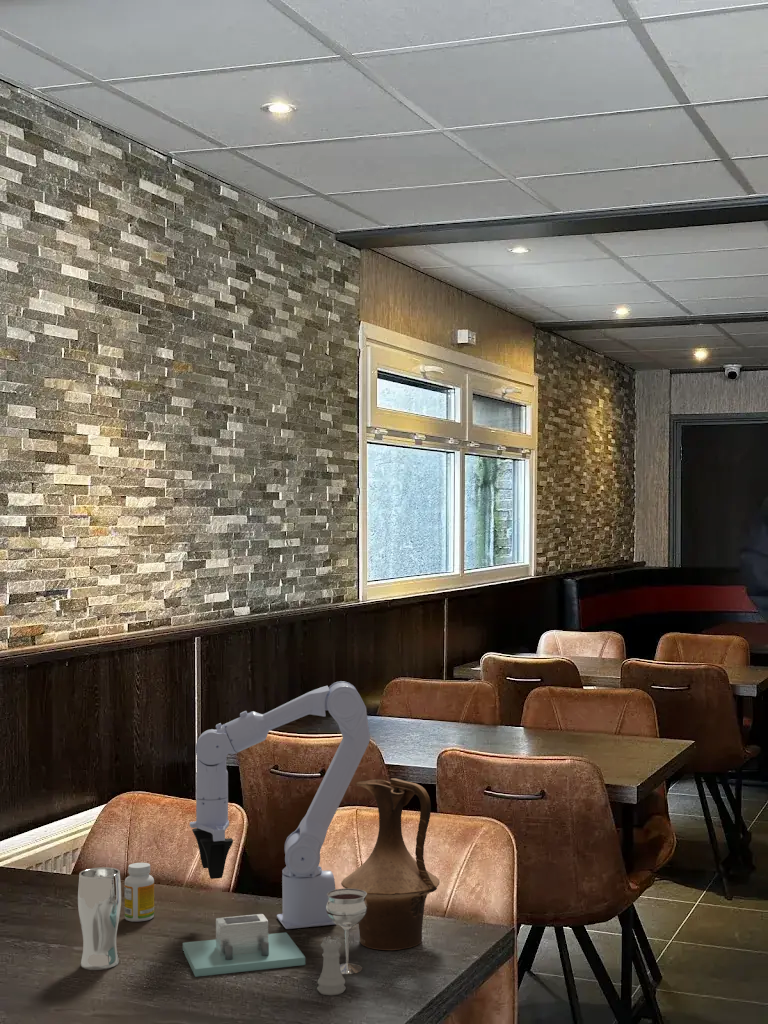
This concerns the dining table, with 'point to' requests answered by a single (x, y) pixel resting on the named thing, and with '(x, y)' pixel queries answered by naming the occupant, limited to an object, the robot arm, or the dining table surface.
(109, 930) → the beer glass
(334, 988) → the rook chess piece
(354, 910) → the wineglass
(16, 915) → the dining table surface
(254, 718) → the robot arm
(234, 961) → the pin tray
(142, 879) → the supplement bottle
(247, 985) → the dining table surface
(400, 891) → the pitcher
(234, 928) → the block
